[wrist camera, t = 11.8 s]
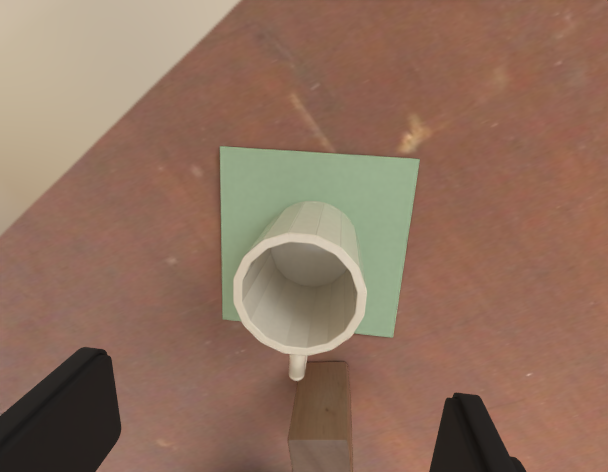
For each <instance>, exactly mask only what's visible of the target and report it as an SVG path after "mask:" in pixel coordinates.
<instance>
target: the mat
mask: <svg viewBox="0 0 608 472" xmlns="http://www.w3.org/2000/svg"><path fill="white" fill-rule="evenodd" d="M419 161H420V159H413V158H397V157H381V156H366V155H350V154H334V153H319V152H303V151H288V150H272V149H256V148H241V147H225V146H220V186H221V251H222V316H223V319H224V320H233V321H241V319H240V317H239V314H238V312H237V310H236V308H235V305H234V302H233V279H234V276H235V274H236V272H237V269H238V267H239V265H240V263H241V261H242V258H243V257H244V256H245V254H246V253H247V252H248V250H249V249H250V248H251V247H252V245H253V244H254V243H255V242H256V240H257V239H258V238H259V236H260V235H261V234H262V233H263V231H264V230H265V229H266V228H267V226H268V225H269V224H270V222H271V221H272V220H273V219H274V218H275V217H276V216H277V215H278V214H279V213H280V212H281V211H283V210H284V209H285V208H287V207H289V206H290V205H293V204H295V203H299V202H303V201H319V202H324V203H327V204H330V205H332V206H334V207H336V208H338V209H339V210H340V211H342V212H343V213H344V214H345V215H346V216H347V217H348V218H349V219H350V221H351V222H352V224H353V226H354V227H355V230H356V232H357V236H358V240H359V243H360V249H361V255H362V262H363V268H364V275H365V281H366V288H367V298H366V307H365V315H364V317H363V319H362V321H361V322H360V324H359V325H358V327H357V329H356V330H355V332H354V333H355V334H364V335H373V336H382V337H392V338H393V333H394V327H395V320H396V313H397V307H398V300H399V294H400V287H401V280H402V274H403V267H404V261H405V254H406V247H407V241H408V234H409V228H410V221H411V214H412V208H413V201H414V195H415V188H416V181H417V175H418V168H419Z"/></svg>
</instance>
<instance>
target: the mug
mask: <svg viewBox="0 0 608 472" xmlns="http://www.w3.org/2000/svg"><path fill="white" fill-rule="evenodd" d="M366 298H367V288H366V281H365V275H364V268H363V262H362V255H361V249H360V243H359V240H358V236H357V232H356V230H355V227H354V226H353V224H352V222H351V221H350V219H349V218H348V217H347V216H346V215H345V214H344V213H343V212H342V211H340V210H339V209H338V208H336V207H334V206H332V205H330V204H327V203H324V202H319V201H303V202H299V203H295V204H293V205H290V206H289V207H287V208H285V209H284V210H283V211H281V212H280V213H279V214H278V215H277V216H276V217H275V218H274V219H273V220H272V221H271V222H270V224H269V225H268V226H267V228H266V229H265V230H264V231H263V233H262V234H261V235H260V236H259V238H258V239H257V240H256V242H255V243H254V244H253V245H252V247H251V248H250V249H249V250H248V252H247V253H246V254H245V256H244V257H243V258H242V261H241V263H240V265H239V267H238V269H237V272H236V274H235V276H234V279H233V302H234V305H235V308H236V310H237V312H238V314H239V317H240V319H241V321H242V324H243V325H244V326H245V327H246V328H247V329H248V330H249V331H250V332H251V333H252V334H253V335H254V336H255V337H256V338H257V339H258V340H259V341H260V342H261V343H263V344H265V345H267V346H269V347H271V348H273V349H275V350H277V351H279V352H282V353H286V354H290V356H289V376H290V378H291V379H292V380H293V381H300V380H301V379H303V377H304V375H305V369H306V362H307V356H309V355H314V354H318V353H322V352H326V351H331V350H333V349H334V348H336V347H337V346H339V345H340V344H341V343H343V342H344V341H346V340H347V339H349V338H350V337H351V336H352V335H353V333H354V332H355V330H356V329H357V327H358V325H359V324H360V322H361V321H362V319H363V317H364V315H365V307H366Z"/></svg>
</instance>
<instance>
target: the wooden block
mask: <svg viewBox="0 0 608 472" xmlns="http://www.w3.org/2000/svg"><path fill="white" fill-rule="evenodd" d="M288 446H289V452H290V458H291V465H292V471H293V472H353V452H352V421H351V395H350V384H349V373H348V366H347V364H346V362H309V363H306V369H305V375H304V377H303V379H301V380H300V381H298V384H297V390H296V395H295V401H294V407H293V412H292V418H291V424H290V429H289V435H288Z"/></svg>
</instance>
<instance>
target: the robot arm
mask: <svg viewBox="0 0 608 472" xmlns="http://www.w3.org/2000/svg"><path fill="white" fill-rule="evenodd" d="M120 433H121V422H120V415H119V408H118V401H117V394H116V387H115V381H114V374H113V367H112V360H111V357H110V356H108V355H107V352H106V351H105V350H103V349H96V348H88V347H83V348H81V349H79V350H78V351H76V352H75V353H74V354H73V355H72V356H70V357H69V358H68V359H67V360H66V361H65V362H63V363H62V364H61V365H60V366H59V367H57V368H56V369H55V370H54V371H53V372H52V373H50V374H49V375H48V376H47V377H46V378H45V379H43V380H42V381H41V382H40V383H39V384H37V385H36V386H35V387H34V388H33V389H32V390H30V391H29V392H28V393H27V394H26V395H24V396H23V397H22V398H21V399H20V400H19V401H17V402H16V403H15V404H14V405H13V406H11V407H10V408H9V409H8V410H7V411H6V412H4V413H3V414H2V415H1V416H0V472H95V471H96V470H97V469H98V467H99V466H100V465H101V463H102V462H103V460H104V459H105V458H106V456H107V455H108V453H109V452H110V451H111V449H112V448H113V446H114V445H115V444H116V442H117V440H118V438H119V436H120ZM429 472H526V470H525V468H524V467H523V465H522V464H521V462H520V461H519V460H518V459H517V458H515V457H510V456H509V454H508V452H507V450H506V448H505V446H504V444H503V442H502V440H501V438H500V436H499V434H498V432H497V430H496V428H495V426H494V424H493V422H492V420H491V418H490V416H489V414H488V411H487V409H486V407H485V405H484V403H483V401H482V400H481V398H480V397H479V396H478V395H471V394H463V393H454V395H453V397H452V398H447V399H446V401H445V405H444V409H443V414H442V418H441V422H440V427H439V431H438V436H437V440H436V444H435V449H434V453H433V458H432V462H431V466H430V471H429Z"/></svg>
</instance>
